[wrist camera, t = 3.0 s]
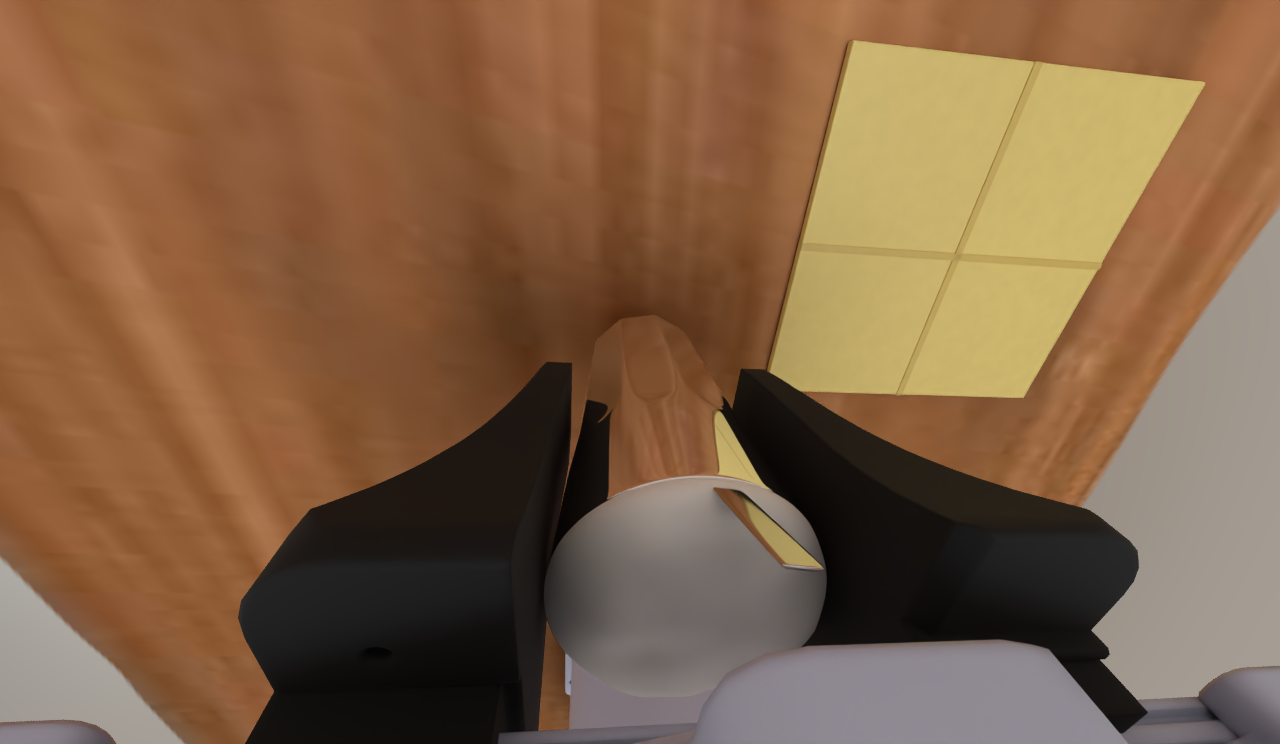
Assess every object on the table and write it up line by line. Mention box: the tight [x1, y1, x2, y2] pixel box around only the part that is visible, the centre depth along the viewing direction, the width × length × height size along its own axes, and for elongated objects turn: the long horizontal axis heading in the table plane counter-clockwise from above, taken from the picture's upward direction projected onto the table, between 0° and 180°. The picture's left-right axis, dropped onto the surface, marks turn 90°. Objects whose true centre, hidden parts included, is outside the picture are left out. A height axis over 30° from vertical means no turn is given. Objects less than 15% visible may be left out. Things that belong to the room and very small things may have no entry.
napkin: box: [767, 40, 1205, 398], centre depth 16 cm, size 11×11×1 cm
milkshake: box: [544, 315, 827, 697], centre depth 10 cm, size 4×5×10 cm
